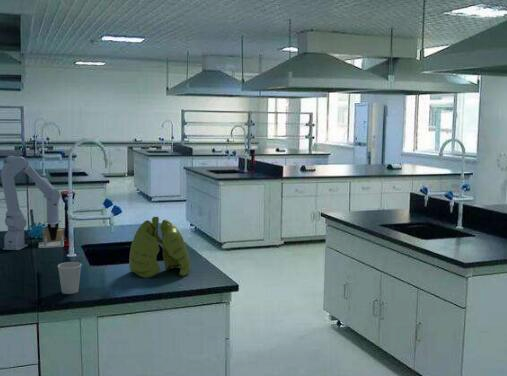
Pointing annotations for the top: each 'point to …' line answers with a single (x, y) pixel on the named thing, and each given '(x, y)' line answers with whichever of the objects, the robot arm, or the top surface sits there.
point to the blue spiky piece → (37, 230)
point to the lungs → (148, 248)
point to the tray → (51, 243)
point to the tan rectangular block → (58, 235)
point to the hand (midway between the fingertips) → (53, 238)
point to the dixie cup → (69, 276)
